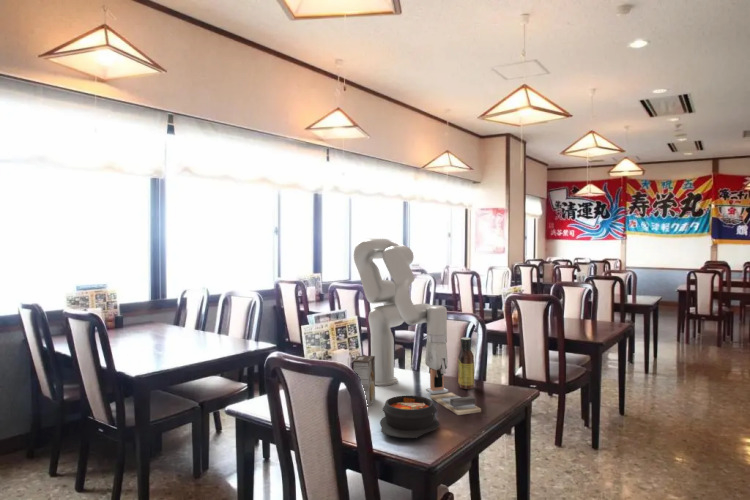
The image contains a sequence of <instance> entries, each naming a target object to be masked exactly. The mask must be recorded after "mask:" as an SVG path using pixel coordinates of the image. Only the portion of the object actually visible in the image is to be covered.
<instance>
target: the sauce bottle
mask: <svg viewBox="0 0 750 500" xmlns="http://www.w3.org/2000/svg"><path fill="white" fill-rule="evenodd" d="M471 343H472V338H471V337H468V336H467V337H466V336H463V337H461V338H460V345H461V347H460V350H459V351H460V352H459V354H458V358H457V359H458V360H457V364H458V365H457V366H458V367H457V368H458V370H457V371H458V381H457V382H458V387H459V388H460V389H463V390H471V389H474V387H475V360H474V359H475V357H474V353H473V351H472V347H471V346H472V345H471Z"/></svg>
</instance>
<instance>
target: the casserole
mask: <svg viewBox="0 0 750 500" xmlns="http://www.w3.org/2000/svg"><path fill="white" fill-rule="evenodd" d="M433 401H434V400H433V399H431V398H427V397H426V396H419V395H408V394H407V395H398V396H397V395H396V396H392V397H390V398H387V400H386V401H385V403H384V405H383V406H382V412H383V413H384V416H383V417H382V418H381V419H380V420H379V425H380V427H381V431H380V432H381V433H382V434H383V435H386V436H389V437H393V438H398V439H400V438H401V439H417V438H420V437H421V436H423V435H425V434H427V433H430V432H432V431H435V430H436V429H438V428H439V427H440V422H439V420H438V419H437V416H436V413H437V407H436V406H435V404H434V402H433Z"/></svg>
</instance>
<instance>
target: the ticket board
mask: <svg viewBox="0 0 750 500" xmlns="http://www.w3.org/2000/svg"><path fill="white" fill-rule="evenodd" d="M430 400H432V401H434V402H437V403H438V404H439V405H441V406H442V407H444V408H446V409H447V410H450V411H451V412H453V413H454V414H455V415H457V416H461V415H467V414H476V413H482V408H481V407H479V406H477V405H476V397H474V396H472V395H469V396H462V397H461V396H459V395H457V394H455V393H454V392H446V393H438V394H430Z"/></svg>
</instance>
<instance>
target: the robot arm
mask: <svg viewBox="0 0 750 500" xmlns="http://www.w3.org/2000/svg"><path fill="white" fill-rule="evenodd" d="M353 250H354V251H353V260H354V263H355V266H356V269H357V271H358V274H359V278H360V281H361V285H362V288H363V292H364V295H365V299H366V300H367V302H368V303H369V304H374V305H375V304H383V305H378V306H375V307H374V308H372V309H371V310H370V311H369V313H368V325H369V331H370V356H375V386H378V387H379V386H380V387H381V386H384V387H385V386H391V385H392V386H393V385H395V384H397V383H398V382H399V380H398V377H396V376H395V361H394V360H395V343H394V339H395V338H394V335H393V332H392V329H391V328H395V327H399V326H400V325H403V323H406V324H407V325H409V326H414V325H420V324H425V323H426V346H425V357H424V358H425V360H424V361H425V363H424V365H425V366H426V367H428V368H429V370H430V369H434V370H435V377H434V387H435V388H437V387H442V377H443V374H446V373H447V371H446V370H447V369H448V360H449V359H448V349H447V348H448V347H447V342H448V335H447V334H448V332H447V331H448V329H447V328H448V327H447V326H448V324H447V323H448V321H447V320H448V317H447V316H448V314H447V313H448V311H447V310H448V309H447V307H446V306H444V305H434V304H431V303H425V302H422V303H416V304H414V302H413V301H412V299H411V295H410V290H409V289H410V286H411V285H412V284H413V282H414V281H415V278H416V277H415V275H414V273H413V270H412V268H411V266H410V265H411V264H412V263H413V261H414V252H413V251H412V249H411V248H410V247H408V246H407V245H405V244H402V243H398V242H397V241H393V240H391V239H388V238H366V239H362V240H359V242H357V243H356V246H355V247H354V249H353ZM373 259H382V260H383V262H384V265H385V266H386V269H387V271H388V274H389V275H390V277H391V279H392V280H389V279H382V276H381V272H380V269H379V268H378V266H377V264H376V263H375V262H374V261H373ZM438 371H439V372H438Z"/></svg>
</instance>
